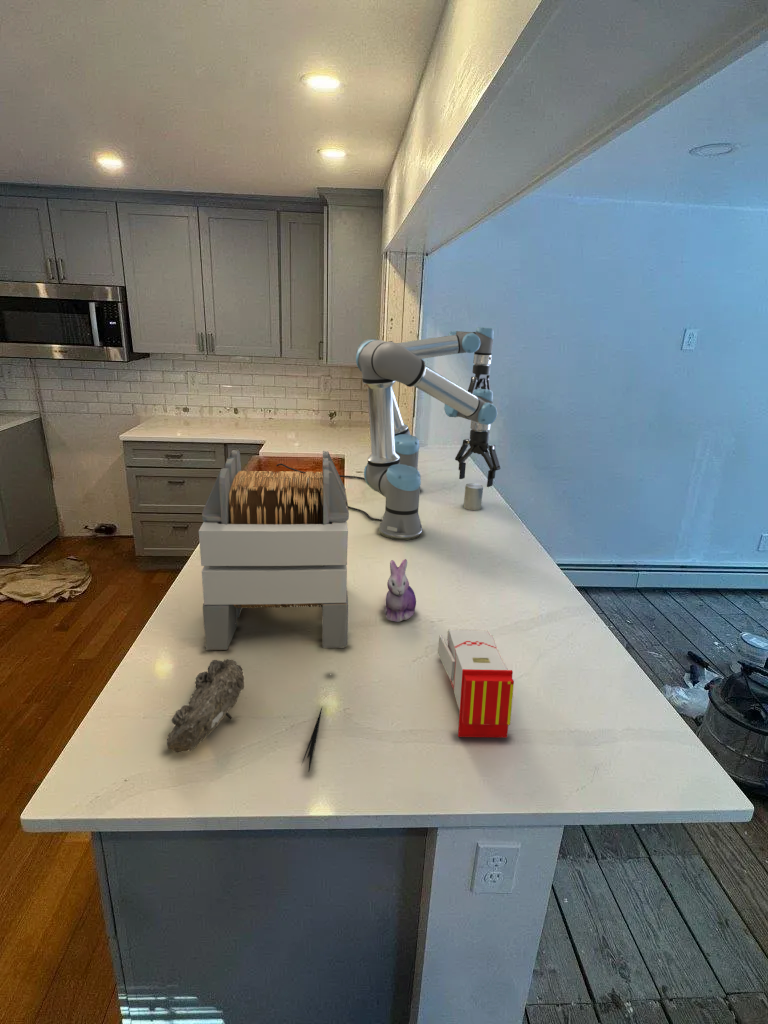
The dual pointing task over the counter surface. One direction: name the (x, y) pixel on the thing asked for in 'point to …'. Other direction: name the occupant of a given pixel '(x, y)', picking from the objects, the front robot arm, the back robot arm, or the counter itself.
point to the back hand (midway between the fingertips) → (477, 413)
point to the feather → (313, 740)
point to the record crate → (274, 548)
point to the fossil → (206, 705)
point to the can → (473, 496)
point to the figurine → (399, 594)
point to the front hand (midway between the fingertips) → (475, 482)
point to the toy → (478, 682)
